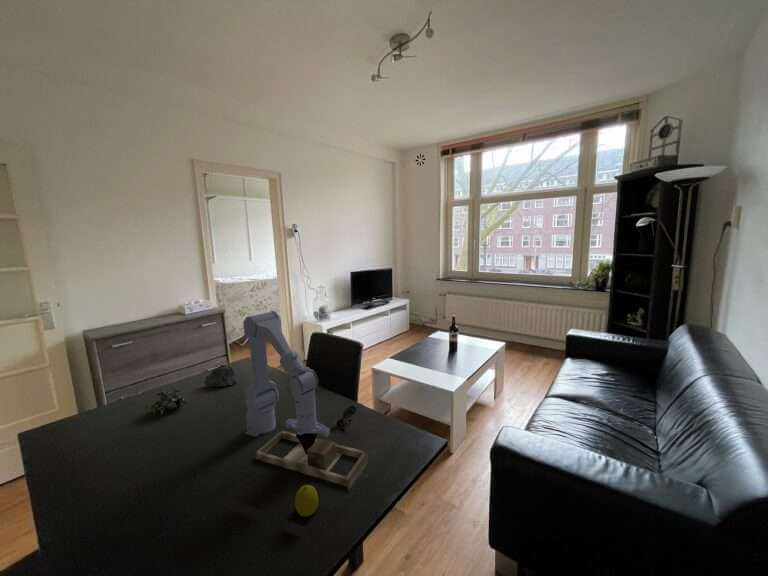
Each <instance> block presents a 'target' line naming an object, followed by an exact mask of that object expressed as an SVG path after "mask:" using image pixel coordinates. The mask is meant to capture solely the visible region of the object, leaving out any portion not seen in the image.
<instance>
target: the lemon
mask: <svg viewBox="0 0 768 576" xmlns="http://www.w3.org/2000/svg"><path fill="white" fill-rule="evenodd" d="M294 506H295V510H296V512H297V514H299V515H300V516H301V517H304V518H306V517H307V518H308V517H311V516H312V515H313V514H315V512H316V511H317V508H318V506H319V495H318V492H317V490H316V488H315V487H314V486H313V485H312V484H311V485H310V484H304V485H302V486H301V487H300V488H299V489H298V490H297V491H296V495H295V497H294Z"/></svg>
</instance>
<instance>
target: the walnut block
mask: <svg viewBox="0 0 768 576" xmlns="http://www.w3.org/2000/svg"><path fill="white" fill-rule="evenodd" d="M316 439H317V440H316V441H315V442H314V443H313V444H312V445H311V446H310V447H309V449H308V450H307V460H308V466H312V467H315V468H319V469H322V470H327V468H328V467H329V466H330V465H331V463H332V462H333V461H334V460H335V458H336V445H335V444H336V441H335V442H334V441H332V440H328V439H327V440H326V439H324V438H320V437H318V438H316Z"/></svg>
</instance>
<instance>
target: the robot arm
mask: <svg viewBox="0 0 768 576" xmlns="http://www.w3.org/2000/svg"><path fill="white" fill-rule="evenodd" d="M281 321H282V320H281V319H280V315H279V314H278V312H276V311H274V310H271V311H269V312H264V313H259V314H256V315H254V314H253V315H248V316H246V317H245V319H244V320H243V322H242V323H243V332H244V333H243V335H244V338H245V339H247V340H248V343H249V351H250V360H251V361H250V362H251V371H252V372H251V373H252V378H253V379H252V381H253V382H252V383H251V384H250V385H249V387H248V388H246V390H245V399H244V401H245V406H246V408H247V410H246V413H245V422H246V429H247V431H246V432H245V434H246V435H247V436H248V435H249V436H252V437H255V438H256V437H258V436H259V435H261V434H267V433H269V432H271V431H273V430H275V428H276V426H277V424H276V423H277V421H276V414H275V413H276V412H275V411H276V410H275V407H276V406H277V402H279V398H280V395H279V391H278V388H277V384H276V382H274V381H273V380H271V379H270V377H269V375H270V374H269V365H268V357H267V356H268V355H267V346H266V345H267V344H266V339H267V340H268V342H269V343H270V344H271V346H272V347H273V348H274V350H275V351H276V353H277V354H278V355H279V357H280V359H279V364H280V365H281V367H282V368H283V370H284V372H285V374H286V376H287V377H288V379H289V381H290V382H289V388H290V389H289V390H291V393H292V398H293V400H294V401H295V402H294V403H295V415H296V418H288V419H287V420H286V421H284V422H285V428H286V429H291V428H292V429H294V430H295V431H296V433H295V434H296V438H297V439H298V440H299V441H300V443H301V444H302V446H303V449H304V451H305V454H306V455H307V450H308V449H309V447H310V446H311V445H312V444H313V443H314V442H315V439H317V436H318V435H320V436H323V437H324V438H327V437H329V436H330V435H331V430H330V429H331V428H330V427H328V426H325V424H322V423H321V422H319V421H317V408H316V407H317V406H316V393H315V389H316V388H317V387H318V386H319V379H318V375H317V373H316V372H315V370H314V369H311V368H310V367H309V366H306V364H305V363H304V362H303V359H302V358H301V357H300V355H299V353H298V352H297V351H296V350H292V349H291V347H290V345H289V344H288V342H287V341H288V340H287V339H286V338H285V335H284V333H283V331H282V330H281V327H282V322H281Z"/></svg>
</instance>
